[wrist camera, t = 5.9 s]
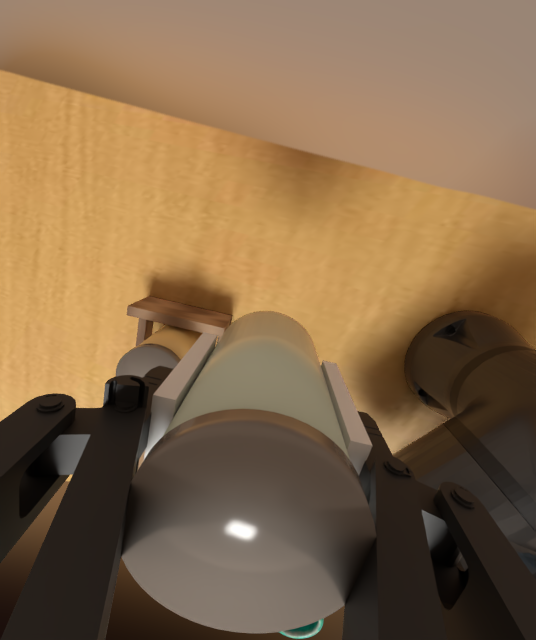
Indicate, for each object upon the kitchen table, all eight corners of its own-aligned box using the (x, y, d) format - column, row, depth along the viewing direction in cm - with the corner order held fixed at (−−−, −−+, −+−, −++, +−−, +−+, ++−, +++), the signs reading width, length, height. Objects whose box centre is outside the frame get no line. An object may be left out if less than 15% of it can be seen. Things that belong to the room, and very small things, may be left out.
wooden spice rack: (232, 315, 41) (224, 328, 35) (202, 462, 48) (191, 492, 43) (149, 296, 41) (127, 305, 35) (131, 446, 48) (111, 474, 42)
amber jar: (213, 322, 42) (187, 356, 30) (205, 367, 44) (177, 415, 32) (164, 311, 41) (118, 340, 30) (158, 356, 43) (113, 400, 32)
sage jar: (330, 323, 17) (417, 473, 6) (302, 414, 18) (331, 653, 8) (225, 298, 17) (129, 406, 6) (206, 392, 18) (105, 605, 8)
